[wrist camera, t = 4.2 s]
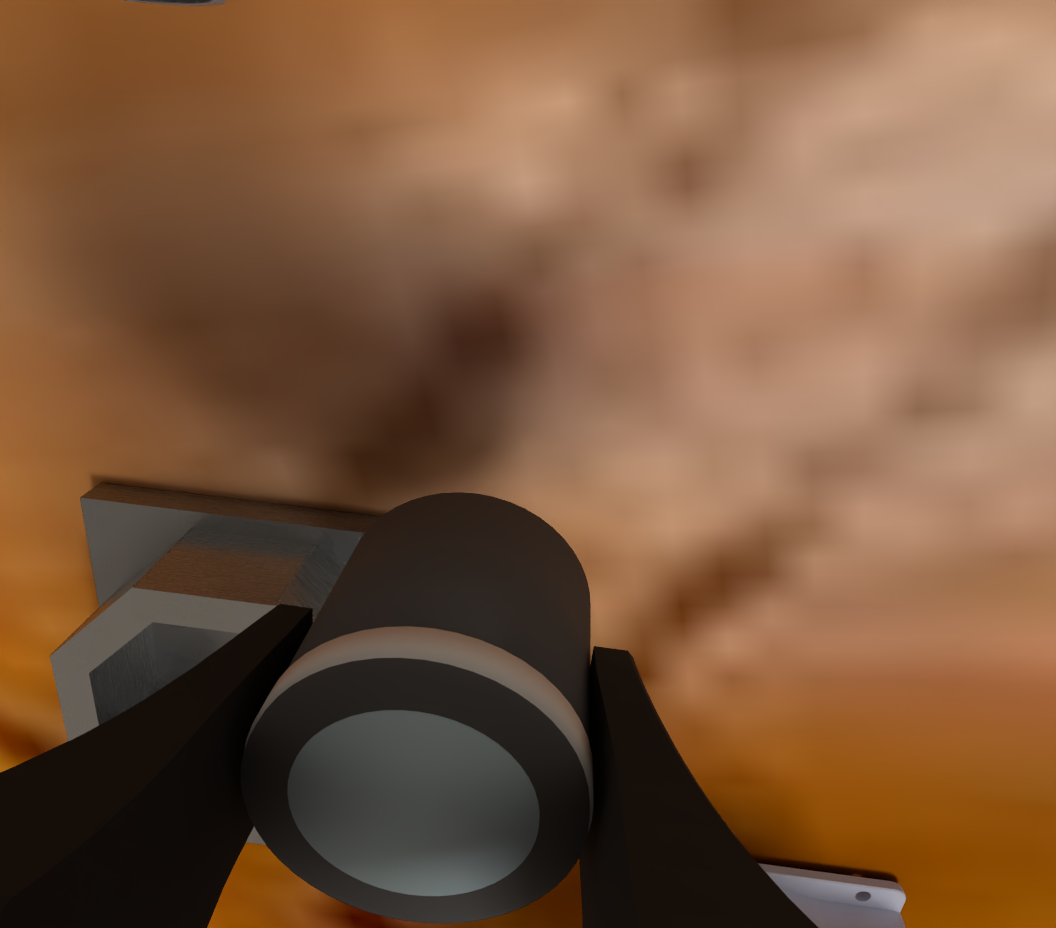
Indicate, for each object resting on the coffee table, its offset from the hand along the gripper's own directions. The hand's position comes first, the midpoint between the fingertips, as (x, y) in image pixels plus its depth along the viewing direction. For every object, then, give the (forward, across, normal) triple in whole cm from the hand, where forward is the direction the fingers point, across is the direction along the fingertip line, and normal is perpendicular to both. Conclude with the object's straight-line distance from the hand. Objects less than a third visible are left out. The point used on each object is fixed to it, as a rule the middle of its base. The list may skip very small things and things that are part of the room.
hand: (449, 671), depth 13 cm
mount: (+8, +7, +7) cm, 13 cm away
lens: (+2, 0, 0) cm, 2 cm away
